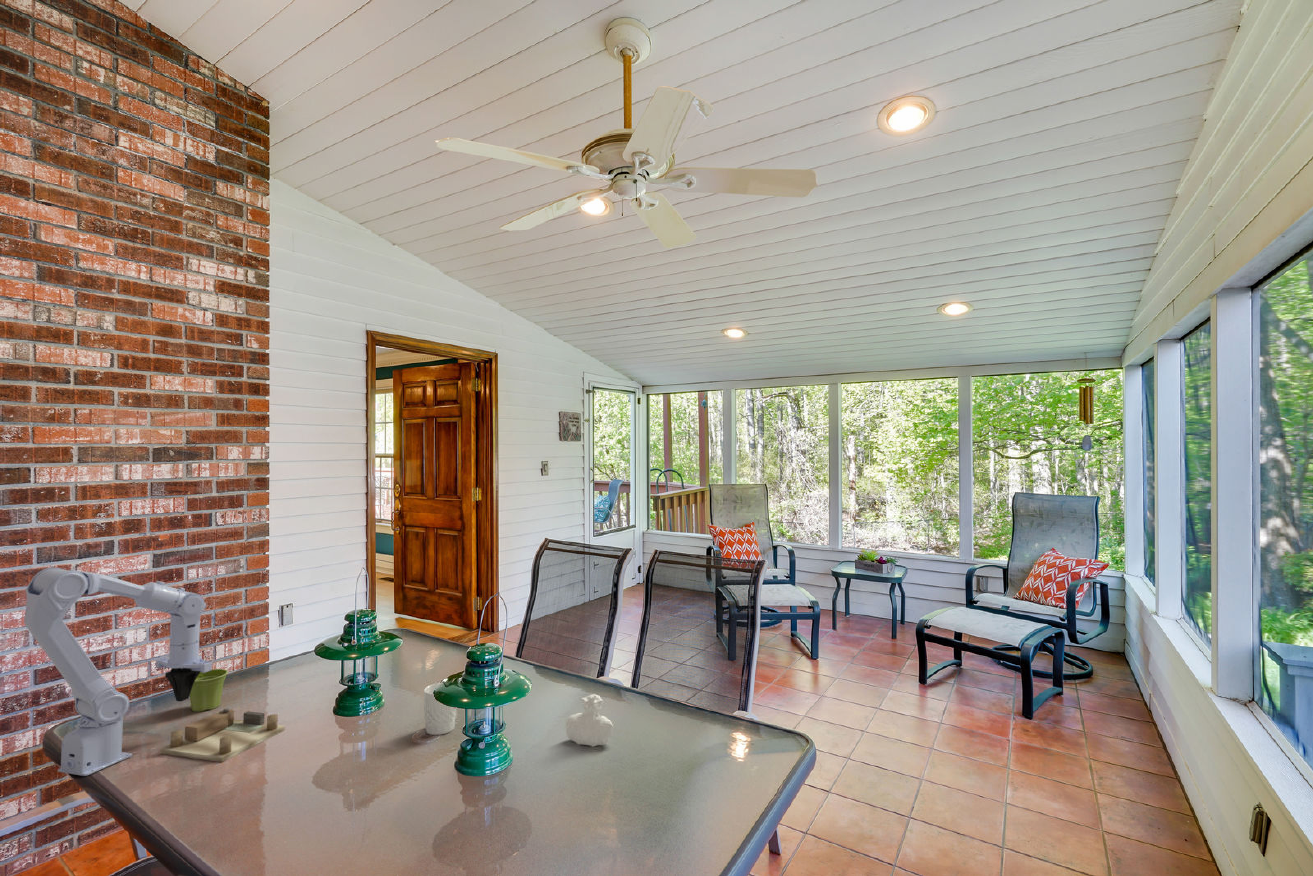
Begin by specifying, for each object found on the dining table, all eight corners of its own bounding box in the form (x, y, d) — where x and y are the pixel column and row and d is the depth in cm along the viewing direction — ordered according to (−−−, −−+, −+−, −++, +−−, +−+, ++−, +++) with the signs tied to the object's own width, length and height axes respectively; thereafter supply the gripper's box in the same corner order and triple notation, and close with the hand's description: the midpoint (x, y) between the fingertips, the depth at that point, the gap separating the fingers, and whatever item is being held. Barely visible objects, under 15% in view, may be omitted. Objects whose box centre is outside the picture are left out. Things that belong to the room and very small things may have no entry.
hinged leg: (225, 721, 154) (226, 706, 154) (237, 722, 154) (237, 707, 154) (184, 739, 144) (185, 723, 144) (196, 741, 143) (197, 725, 143)
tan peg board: (222, 762, 136) (223, 743, 136) (160, 753, 140) (161, 735, 140) (285, 729, 153) (285, 713, 153) (228, 722, 156) (228, 706, 157)
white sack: (613, 753, 146) (624, 704, 153) (604, 744, 141) (615, 693, 148) (567, 746, 150) (579, 698, 157) (556, 737, 144) (569, 688, 151)
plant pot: (210, 715, 161) (211, 681, 162) (174, 714, 161) (175, 680, 162) (235, 701, 171) (236, 669, 171) (201, 700, 171) (202, 668, 171)
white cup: (462, 723, 157) (462, 683, 158) (448, 737, 149) (449, 694, 150) (432, 721, 158) (433, 682, 158) (417, 735, 150) (418, 693, 150)
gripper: (224, 640, 152) (222, 696, 152) (176, 636, 156) (174, 691, 155) (196, 648, 145) (194, 707, 145) (147, 643, 149) (145, 701, 148)
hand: (182, 699), depth 149 cm, fingers closed
